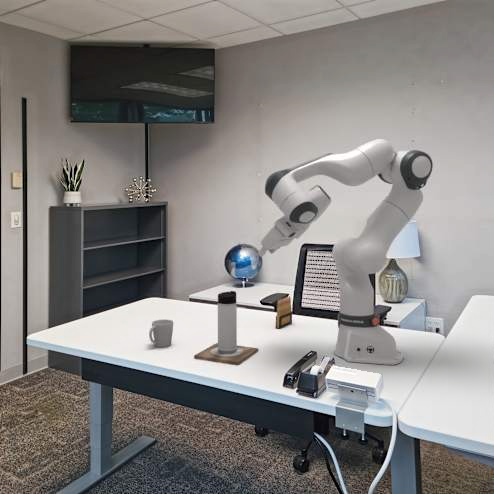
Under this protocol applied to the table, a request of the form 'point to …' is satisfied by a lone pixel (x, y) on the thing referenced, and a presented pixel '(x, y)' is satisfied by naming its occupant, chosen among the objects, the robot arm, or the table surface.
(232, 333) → the travel mug
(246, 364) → the table surface
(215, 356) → the board
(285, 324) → the ammunition clip
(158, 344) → the cup
